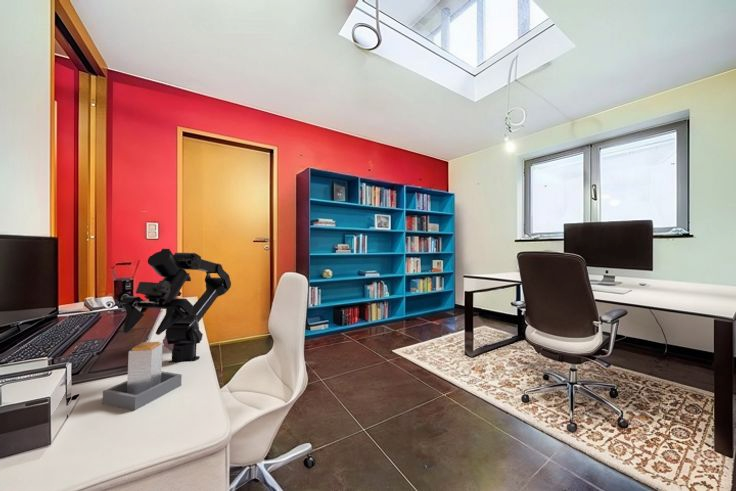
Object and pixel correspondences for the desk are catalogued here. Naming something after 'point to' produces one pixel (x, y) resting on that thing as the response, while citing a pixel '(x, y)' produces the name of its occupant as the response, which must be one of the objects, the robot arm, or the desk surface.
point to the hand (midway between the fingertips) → (140, 333)
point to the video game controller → (167, 344)
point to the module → (144, 367)
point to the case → (133, 402)
